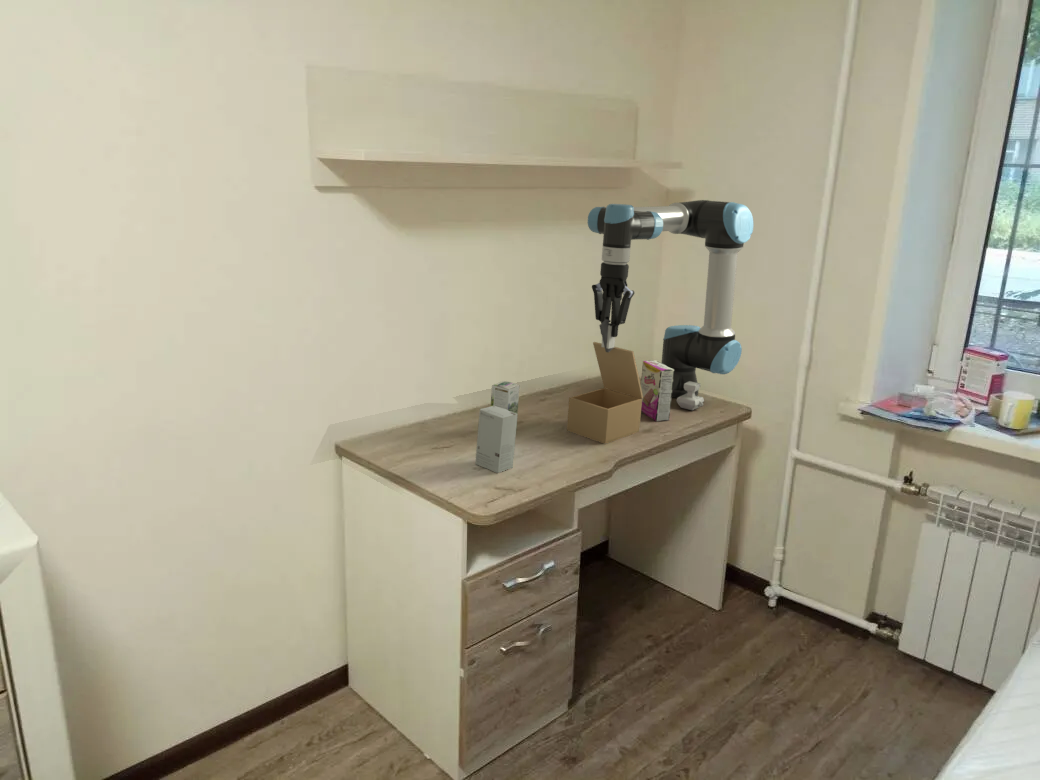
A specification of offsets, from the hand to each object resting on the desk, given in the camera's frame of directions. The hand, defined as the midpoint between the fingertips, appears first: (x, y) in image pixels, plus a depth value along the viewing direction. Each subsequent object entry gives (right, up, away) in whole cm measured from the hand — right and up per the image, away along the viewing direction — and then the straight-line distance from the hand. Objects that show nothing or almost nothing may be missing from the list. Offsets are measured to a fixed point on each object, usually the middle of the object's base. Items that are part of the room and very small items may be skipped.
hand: (607, 347), depth 221 cm
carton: (-1, -24, +8) cm, 25 cm away
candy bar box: (+17, -20, +24) cm, 36 cm away
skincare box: (-31, -31, -22) cm, 49 cm away
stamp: (+30, -18, +34) cm, 48 cm away
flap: (+1, -4, +2) cm, 5 cm away
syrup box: (-29, -24, +2) cm, 38 cm away
